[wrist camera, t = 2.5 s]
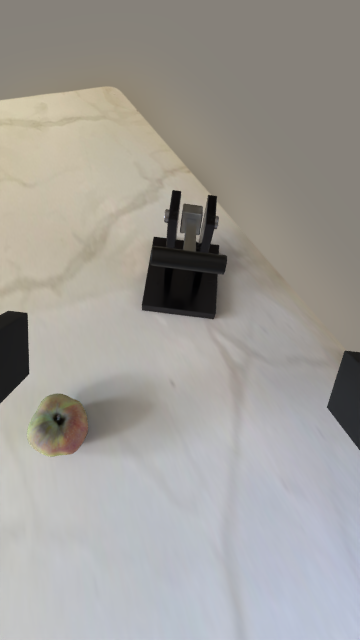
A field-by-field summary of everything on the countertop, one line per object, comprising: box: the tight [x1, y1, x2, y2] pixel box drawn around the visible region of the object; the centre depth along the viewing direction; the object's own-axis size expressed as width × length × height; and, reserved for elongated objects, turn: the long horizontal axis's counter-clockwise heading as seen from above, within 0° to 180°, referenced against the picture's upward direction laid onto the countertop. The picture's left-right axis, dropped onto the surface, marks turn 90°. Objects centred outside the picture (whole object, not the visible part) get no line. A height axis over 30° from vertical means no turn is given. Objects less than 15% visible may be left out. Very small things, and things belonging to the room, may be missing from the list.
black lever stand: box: [142, 190, 219, 319], centre depth 40 cm, size 12×10×14 cm
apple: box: [27, 394, 88, 457], centre depth 33 cm, size 6×8×6 cm
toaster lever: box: [151, 204, 227, 274], centre depth 32 cm, size 12×6×2 cm, turn 176°
